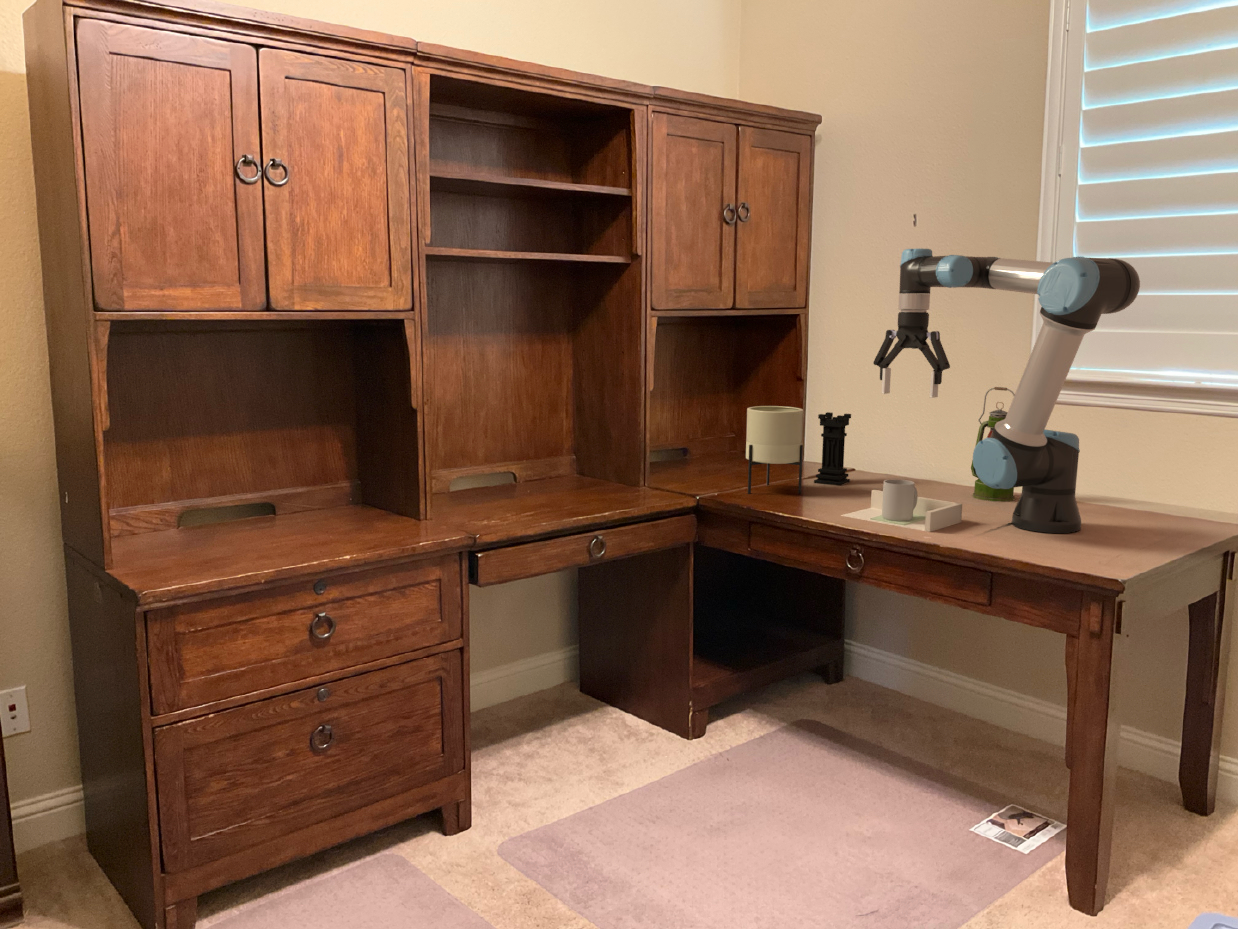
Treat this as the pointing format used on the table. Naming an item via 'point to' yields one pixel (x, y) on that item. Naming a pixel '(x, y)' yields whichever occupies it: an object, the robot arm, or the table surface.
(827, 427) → the chess piece
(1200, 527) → the table surface
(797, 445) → the planter
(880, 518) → the pad
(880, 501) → the tray
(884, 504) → the cup
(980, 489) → the lantern
